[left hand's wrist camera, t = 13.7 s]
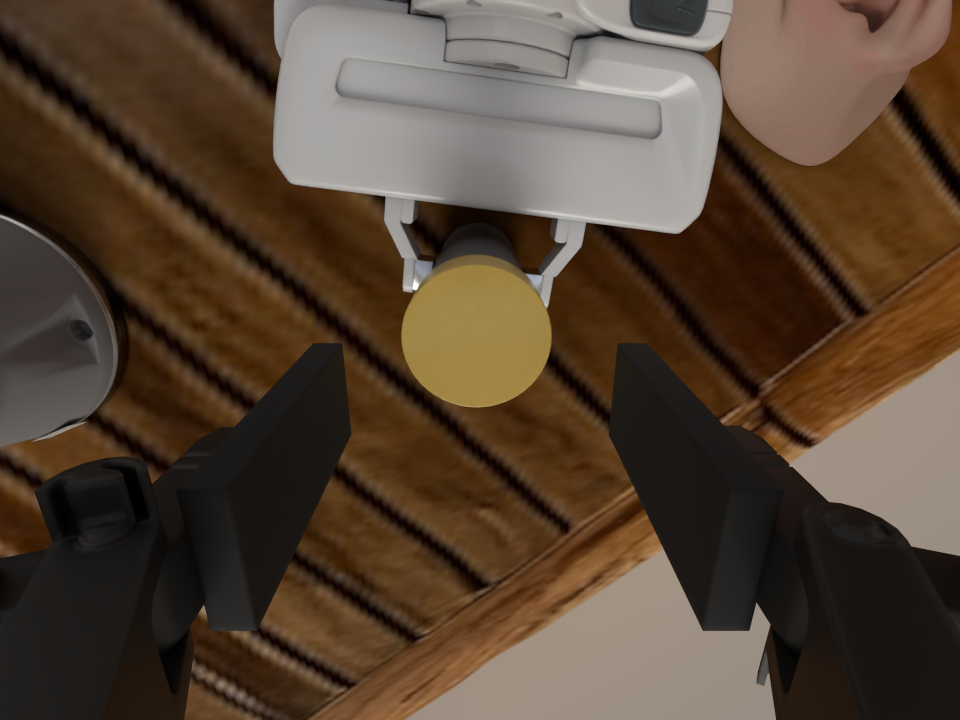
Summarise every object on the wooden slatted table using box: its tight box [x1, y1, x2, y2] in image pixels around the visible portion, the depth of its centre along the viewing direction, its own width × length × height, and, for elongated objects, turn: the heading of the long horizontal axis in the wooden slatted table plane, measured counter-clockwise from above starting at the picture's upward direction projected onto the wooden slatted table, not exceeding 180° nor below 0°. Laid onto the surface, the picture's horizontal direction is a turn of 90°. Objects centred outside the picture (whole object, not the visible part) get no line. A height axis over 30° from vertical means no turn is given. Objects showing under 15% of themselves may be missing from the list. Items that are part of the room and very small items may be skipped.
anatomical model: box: [720, 0, 952, 166], centre depth 26 cm, size 13×4×12 cm
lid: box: [401, 255, 552, 407], centre depth 19 cm, size 5×5×2 cm
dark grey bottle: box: [433, 223, 522, 271], centre depth 26 cm, size 5×5×16 cm
